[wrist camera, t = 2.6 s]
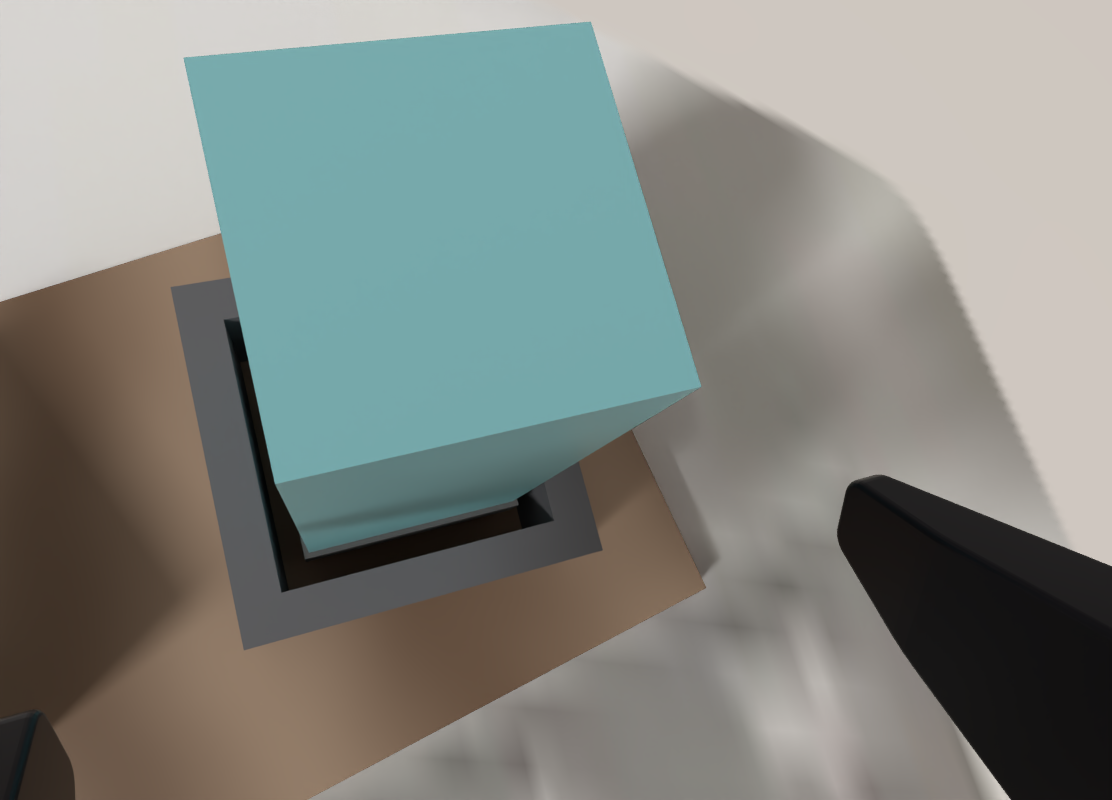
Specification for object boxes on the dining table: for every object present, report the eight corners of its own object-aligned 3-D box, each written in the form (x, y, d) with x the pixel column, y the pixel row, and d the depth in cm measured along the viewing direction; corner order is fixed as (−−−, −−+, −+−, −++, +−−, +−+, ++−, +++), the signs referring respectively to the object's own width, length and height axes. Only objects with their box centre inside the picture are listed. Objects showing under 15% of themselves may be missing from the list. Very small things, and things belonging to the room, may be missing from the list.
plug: (496, 517, 20) (714, 394, 8) (309, 565, 18) (264, 499, 7) (452, 343, 20) (597, 12, 9) (268, 379, 19) (169, 49, 8)
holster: (565, 558, 20) (603, 549, 17) (258, 643, 18) (244, 650, 15) (491, 283, 21) (515, 231, 18) (194, 334, 19) (170, 287, 16)
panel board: (492, 162, 23) (498, 147, 22) (693, 588, 21) (706, 587, 21) (-742, 552, 15) (-799, 549, 14) (-552, 1245, 14) (-602, 1281, 13)
